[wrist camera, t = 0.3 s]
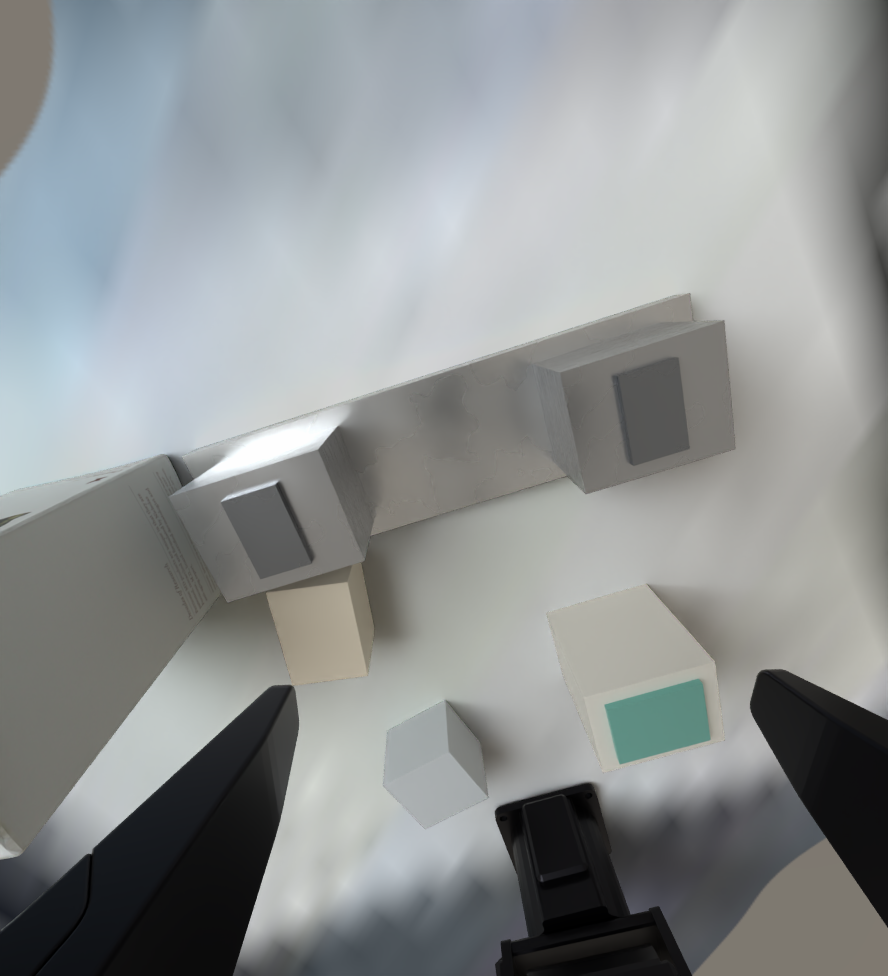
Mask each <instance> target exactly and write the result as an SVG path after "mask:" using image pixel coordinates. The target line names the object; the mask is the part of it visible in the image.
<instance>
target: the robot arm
mask: <svg viewBox="0 0 888 976" xmlns="http://www.w3.org/2000/svg"><path fill="white" fill-rule="evenodd" d="M750 709H751V713H752V716H753V718H754V720H755V721H756V723H757V725H758V727H759V728H760V730H761V732H762V734H763V735H764V737H765V739H766V741H767V742H768V744H769V746H770V748H771V749H772V751H773V753H774V755H775V756H776V758H777V760H778V762H779V763H780V765H781V767H782V769H783V770H784V772H785V774H786V775H787V777H788V779H789V781H790V782H791V784H792V786H793V788H794V789H795V791H796V793H797V794H798V796H799V798H800V799H801V801H802V802H803V804H804V805H805V807H806V808H807V810H808V811H809V813H810V814H811V816H812V817H813V819H814V820H815V822H816V823H817V825H818V826H819V828H820V829H821V830H822V832H823V833H824V835H825V836H826V838H827V839H828V841H829V842H830V844H831V845H832V847H833V848H834V850H835V851H836V852H837V854H838V855H839V857H840V858H841V860H842V861H843V863H844V864H845V865H846V867H847V869H848V870H849V872H850V873H851V874H852V876H853V877H854V879H855V880H856V882H857V883H858V885H859V886H860V888H861V889H862V891H863V892H864V893H865V895H866V896H867V898H868V899H869V901H870V902H871V904H872V905H873V907H874V908H875V910H876V911H877V913H878V914H879V915H880V917H881V918H882V920H883V921H884V923H885V924H886V925H887V927H888V720H887V719H885V718H882V717H880V716H878V715H876V714H874V713H872V712H870V711H868V710H866V709H864V708H862V707H860V706H858V705H856V704H854V703H852V702H850V701H848V700H845V699H843V698H841V697H839V696H837V695H835V694H833V693H831V692H829V691H827V690H825V689H823V688H821V687H819V686H817V685H815V684H813V683H811V682H808V681H806V680H804V679H802V678H800V677H798V676H796V675H794V674H792V673H790V672H788V671H786V670H782V669H771V670H762V671H760V672H759V673H758V675H757V678H756V682H755V686H754V689H753V693H752V697H751V701H750ZM298 730H299V716H298V708H297V700H296V692H295V689H294V687H293V686H292V685H275V686H271V687H269V688H268V689H267V690H266V691H265V692H264V693H263V694H261V695H260V696H259V697H258V698H257V699H256V700H255V701H254V702H253V703H252V704H251V705H249V706H248V707H247V708H246V709H245V710H244V711H243V712H242V713H241V714H240V715H239V716H237V717H236V718H235V719H234V720H233V721H232V722H231V723H230V724H229V725H228V726H227V727H225V728H224V729H223V730H222V731H221V732H220V733H219V734H218V735H217V736H216V737H215V738H213V739H212V740H211V741H210V742H209V743H208V744H207V745H206V746H205V747H204V748H203V749H201V750H200V751H199V752H198V753H197V754H196V755H195V756H194V757H193V758H192V759H190V760H189V761H188V762H187V763H186V764H185V765H184V766H183V767H182V768H181V769H180V770H178V771H177V772H176V773H175V774H174V775H173V776H172V777H171V778H170V779H169V780H168V781H166V782H165V783H164V784H163V785H162V786H161V787H160V788H159V789H158V790H157V791H156V792H154V793H153V794H152V795H151V796H150V797H149V798H148V799H147V800H146V801H145V802H144V803H142V804H141V805H140V806H139V807H138V808H137V809H136V810H135V811H134V812H133V813H131V814H130V815H129V816H128V817H127V818H126V819H125V820H124V821H123V822H122V823H121V824H119V825H118V826H117V827H116V828H115V829H114V830H113V831H112V832H111V833H110V834H109V835H107V836H106V837H105V838H104V839H103V840H102V841H101V842H100V843H99V844H98V845H97V846H95V847H94V848H93V850H92V854H87V855H85V856H84V857H83V858H82V859H81V860H80V861H79V862H78V863H77V864H76V865H74V866H73V867H72V868H71V869H70V870H69V871H68V872H67V873H66V874H65V875H63V876H62V877H61V878H60V879H59V880H58V881H57V882H56V883H55V884H53V885H52V886H51V887H50V888H49V889H48V890H47V891H46V892H44V893H43V894H42V895H41V896H40V897H39V898H38V899H37V900H35V901H34V902H33V903H32V904H31V905H30V906H29V907H28V908H26V909H25V910H24V911H23V912H22V913H21V914H20V915H18V916H17V917H16V918H15V919H14V920H13V921H12V922H10V923H9V924H8V925H7V926H6V927H4V928H3V929H2V930H1V931H0V976H233V973H234V970H235V966H236V963H237V960H238V957H239V954H240V950H241V947H242V944H243V941H244V937H245V934H246V931H247V928H248V924H249V921H250V918H251V915H252V911H253V908H254V905H255V902H256V899H257V895H258V892H259V889H260V886H261V882H262V879H263V876H264V873H265V869H266V866H267V863H268V860H269V857H270V853H271V850H272V847H273V844H274V840H275V837H276V834H277V830H278V826H279V823H280V819H281V814H282V810H283V805H284V800H285V795H286V790H287V785H288V780H289V775H290V771H291V766H292V761H293V756H294V751H295V746H296V741H297V736H298ZM495 818H496V822H497V825H498V827H499V830H500V832H501V835H502V837H503V840H504V843H505V845H506V848H507V850H508V853H509V855H510V858H511V860H512V863H513V865H514V868H515V871H516V873H517V875H518V881H519V886H520V892H521V898H522V903H523V909H524V914H525V920H526V925H527V931H528V936H529V937H528V938H524V939H519V940H515V941H511V940H510V939H508V940H504V941H501V952H502V958H501V959H500V960H499V961H498V962H497V963H496V964H495V966H496V975H497V976H692V974H691V972H690V970H689V968H688V966H687V964H686V962H685V960H684V958H683V956H682V953H681V951H680V949H679V947H678V945H677V943H676V941H675V939H674V937H673V935H672V932H671V930H670V928H669V926H668V924H667V922H666V920H665V918H664V916H663V914H662V911H661V909H660V907H659V906H657V907H653V908H649V911H646V912H641V913H637V914H632V915H631V914H630V911H629V909H628V906H627V903H626V900H625V898H624V895H623V892H622V889H621V886H620V884H619V881H618V878H617V875H616V873H615V870H614V867H613V864H612V862H611V859H610V856H609V854H610V853H611V846H610V843H609V839H608V835H607V832H606V828H605V824H604V820H603V817H602V813H601V809H600V806H599V802H598V798H597V795H596V792H595V789H594V787H593V786H592V785H591V784H584V785H580V786H576V787H573V788H569V789H565V790H562V791H558V792H554V793H550V794H547V795H543V796H539V797H535V798H532V799H528V800H524V801H521V802H517V803H513V804H509V805H506V806H502V807H499V808H497V809H496V810H495Z"/></svg>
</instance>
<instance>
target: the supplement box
mask: <svg viewBox="0 0 888 976" xmlns="http://www.w3.org/2000/svg"><path fill="white" fill-rule="evenodd" d="M181 488H182V485H181V483H180V481H179V478H178V476H177V474H176V472H175V470H174V468H173V466H172V464H171V462H170V460H169V458H168V457H167V456H166V455H164V454H160V455H157V456H154V457H150V458H147V459H144V460H141V461H137V462H134V463H130V464H127V465H123V466H119V467H115V468H111V469H107V470H103V471H99V472H95V473H91V474H87V475H82V476H78V477H74V478H69V479H65V480H60V481H56V482H51V483H47V484H42V485H37V486H32V487H27V488H22V489H17V490H14V491H12V492H9V493H7V494H4V495H2V496H0V859H5V858H12V857H16V856H19V855H20V854H22V853H23V852H24V851H25V850H26V848H27V847H28V846H29V844H30V843H31V842H32V841H33V839H34V838H35V837H36V835H37V834H38V833H39V831H40V830H41V829H42V828H43V826H44V825H45V824H46V822H47V821H48V820H49V818H50V817H51V816H52V814H53V813H54V812H55V811H56V809H57V808H58V807H59V805H60V804H61V803H62V801H63V800H64V799H65V797H66V796H67V795H68V794H69V792H70V791H71V790H72V788H73V787H74V786H75V784H76V783H77V782H78V780H79V779H80V778H81V776H82V775H83V774H84V772H85V771H86V770H87V769H88V767H89V766H90V765H91V763H92V762H93V761H94V759H95V758H96V757H97V755H98V754H99V753H100V751H101V750H102V749H103V748H104V746H105V745H106V744H107V743H108V741H109V740H110V739H111V737H112V736H113V735H114V733H115V732H116V731H117V729H118V728H119V727H120V725H121V724H122V723H123V721H124V720H125V719H126V717H127V716H128V715H129V714H130V712H131V711H132V710H133V708H134V707H135V706H136V704H137V703H138V702H139V700H140V699H141V698H142V697H143V695H144V694H145V693H146V691H147V690H148V689H149V687H150V686H151V685H152V684H153V682H154V681H155V680H156V678H157V677H158V676H159V674H160V673H161V672H162V671H163V669H164V668H165V667H166V665H167V664H168V663H169V661H170V660H171V659H172V657H173V656H174V655H175V653H176V652H177V651H178V649H179V648H180V647H181V645H182V644H183V643H184V641H185V640H186V639H187V638H188V636H189V635H190V634H191V632H192V631H193V630H194V628H195V627H196V626H197V624H198V623H199V622H200V621H201V619H202V618H203V617H204V615H205V614H206V613H207V611H208V610H209V609H210V607H211V606H212V605H213V603H214V602H215V601H216V600H217V598H218V597H219V596H220V594H221V591H220V589H219V587H218V585H217V584H216V582H215V580H214V578H213V576H212V575H211V573H210V571H209V569H208V567H207V566H206V564H205V562H204V560H203V558H202V557H201V555H200V553H199V551H198V549H197V548H196V546H195V544H194V542H193V540H192V539H191V537H190V535H189V533H188V531H187V530H186V528H185V526H184V524H183V523H182V521H181V519H180V517H179V515H178V514H177V512H176V510H175V508H174V506H173V505H172V503H171V501H170V499H169V496H170V495H172V494H173V493H175V492H176V491H178V490H179V489H181Z"/></svg>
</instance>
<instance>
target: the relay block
mask: <svg viewBox="0 0 888 976" xmlns="http://www.w3.org/2000/svg"><path fill="white" fill-rule="evenodd" d="M383 787H384V788H385V789H386V790H387V791H388V792H389V793H390V794H391V795H392V796H393V797H394V798H395V799H396V800H397V801H398V802H399V803H400V804H401V805H402V806H403V807H404V808H405V809H406V810H407V811H408V812H409V813H410V814H411V815H412V816H413V818H414V819H415V820H416V821H417V822H418V823H419V824H420V825H421V826H422V827H423V828H424V829H427V828H429V827H431V826H433V825H435V824H437V823H439V822H441V821H443V820H445V819H447V818H449V817H451V816H453V815H455V814H457V813H459V812H461V811H463V810H465V809H467V808H469V807H471V806H473V805H475V804H478V803H480V802H482V801H484V800H486V799H488V798H489V797H488V790H487V784H486V777H485V770H484V763H483V757H482V750H481V743H480V742H479V740H478V739H477V738H476V737H475V736H474V734H473V733H472V732H471V731H470V730H469V728H468V727H467V726H466V725H465V723H464V722H463V721H462V720H461V719H460V717H459V716H458V715H457V714H456V712H455V711H454V710H453V709H452V708H451V706H450V705H449V704H448V703H447V701H446V700H444V701H442V702H440V703H438V704H436V705H434V706H432V707H430V708H429V709H427V710H425V711H423V712H421V713H419V714H417V715H416V716H414V717H412V718H410V719H408V720H406V721H404V722H402V723H401V724H399V725H397V726H395V727H393V728H391V729H389V730H388V731H387V738H386V751H385V763H384V776H383Z"/></svg>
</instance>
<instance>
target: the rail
mask: <svg viewBox="0 0 888 976" xmlns="http://www.w3.org/2000/svg"><path fill="white" fill-rule="evenodd" d="M734 449H735V438H734V427H733V415H732V404H731V392H730V381H729V369H728V358H727V346H726V335H725V323H724V320H723V321H693V317H692V308H691V299H690V293H689V294H681V295H674V296H671V297H668V298H664V299H661V300H658V301H655V302H652V303H649V304H646V305H643V306H640V307H636V308H633V309H630V310H627V311H624V312H621V313H618V314H615V315H612V316H609V317H605V318H602V319H599V320H596V321H593V322H590V323H587V324H584V325H581V326H578V327H574V328H571V329H568V330H565V331H562V332H559V333H556V334H553V335H550V336H546V337H543V338H540V339H537V340H534V341H531V342H528V343H525V344H522V345H519V346H515V347H512V348H509V349H506V350H503V351H500V352H497V353H494V354H491V355H487V356H484V357H481V358H478V359H475V360H472V361H469V362H466V363H463V364H460V365H456V366H453V367H450V368H447V369H444V370H441V371H438V372H435V373H432V374H428V375H425V376H422V377H419V378H416V379H413V380H410V381H407V382H404V383H401V384H397V385H394V386H391V387H388V388H385V389H382V390H379V391H376V392H373V393H369V394H366V395H363V396H360V397H357V398H354V399H351V400H348V401H345V402H342V403H338V404H335V405H332V406H329V407H326V408H323V409H320V410H317V411H314V412H311V413H307V414H304V415H301V416H298V417H295V418H292V419H289V420H286V421H283V422H279V423H276V424H273V425H270V426H267V427H264V428H261V429H258V430H255V431H252V432H248V433H245V434H242V435H239V436H236V437H233V438H230V439H227V440H224V441H220V442H217V443H214V444H211V445H208V446H205V447H202V448H199V449H196V450H193V451H192V452H190V453H188V454H186V455H184V456H182V459H183V461H184V463H185V465H186V466H187V468H188V470H189V472H190V474H191V476H192V478H193V481H191V482H190V483H188V484H187V485H185V486H184V487H182V488H181V489H179V490H178V491H176V492H175V493H173V494H172V495H170V496H169V499H170V501H171V503H172V505H173V506H174V508H175V510H176V512H177V514H178V515H179V517H180V519H181V521H182V523H183V524H184V526H185V528H186V530H187V531H188V533H189V535H190V537H191V539H192V540H193V542H194V544H195V546H196V548H197V549H198V551H199V553H200V555H201V557H202V558H203V560H204V562H205V564H206V566H207V567H208V569H209V571H210V573H211V575H212V576H213V578H214V580H215V582H216V584H217V585H218V587H219V589H220V591H221V593H222V594H223V596H224V598H225V600H226V602H227V603H228V602H231V601H234V600H238V599H241V598H244V597H248V596H251V595H254V594H257V593H261V592H264V591H267V590H271V589H274V588H277V587H281V586H284V585H287V584H291V583H294V582H297V581H301V580H304V579H307V578H310V577H314V576H317V575H320V574H324V573H327V572H330V571H334V570H337V569H340V568H344V567H347V566H350V565H353V564H357V563H360V562H363V561H365V557H366V552H367V548H368V544H369V540H370V536H372V535H375V534H378V533H382V532H385V531H388V530H391V529H395V528H398V527H401V526H404V525H408V524H411V523H414V522H418V521H421V520H424V519H427V518H431V517H434V516H437V515H441V514H444V513H447V512H450V511H454V510H457V509H460V508H463V507H467V506H470V505H473V504H477V503H480V502H483V501H486V500H490V499H493V498H496V497H500V496H503V495H506V494H509V493H513V492H516V491H519V490H522V489H526V488H529V487H532V486H536V485H539V484H542V483H545V482H549V481H552V480H555V479H559V478H562V477H565V476H568V477H569V478H570V479H571V480H572V481H573V482H574V483H575V484H576V485H577V486H578V487H579V488H580V489H581V490H582V491H583V492H584V493H585V494H588V493H592V492H595V491H598V490H602V489H605V488H608V487H611V486H615V485H618V484H621V483H625V482H628V481H631V480H635V479H638V478H641V477H645V476H648V475H651V474H654V473H658V472H661V471H664V470H668V469H671V468H674V467H678V466H681V465H684V464H688V463H691V462H694V461H697V460H701V459H704V458H707V457H711V456H714V455H717V454H721V453H724V452H727V451H731V450H734Z"/></svg>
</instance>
